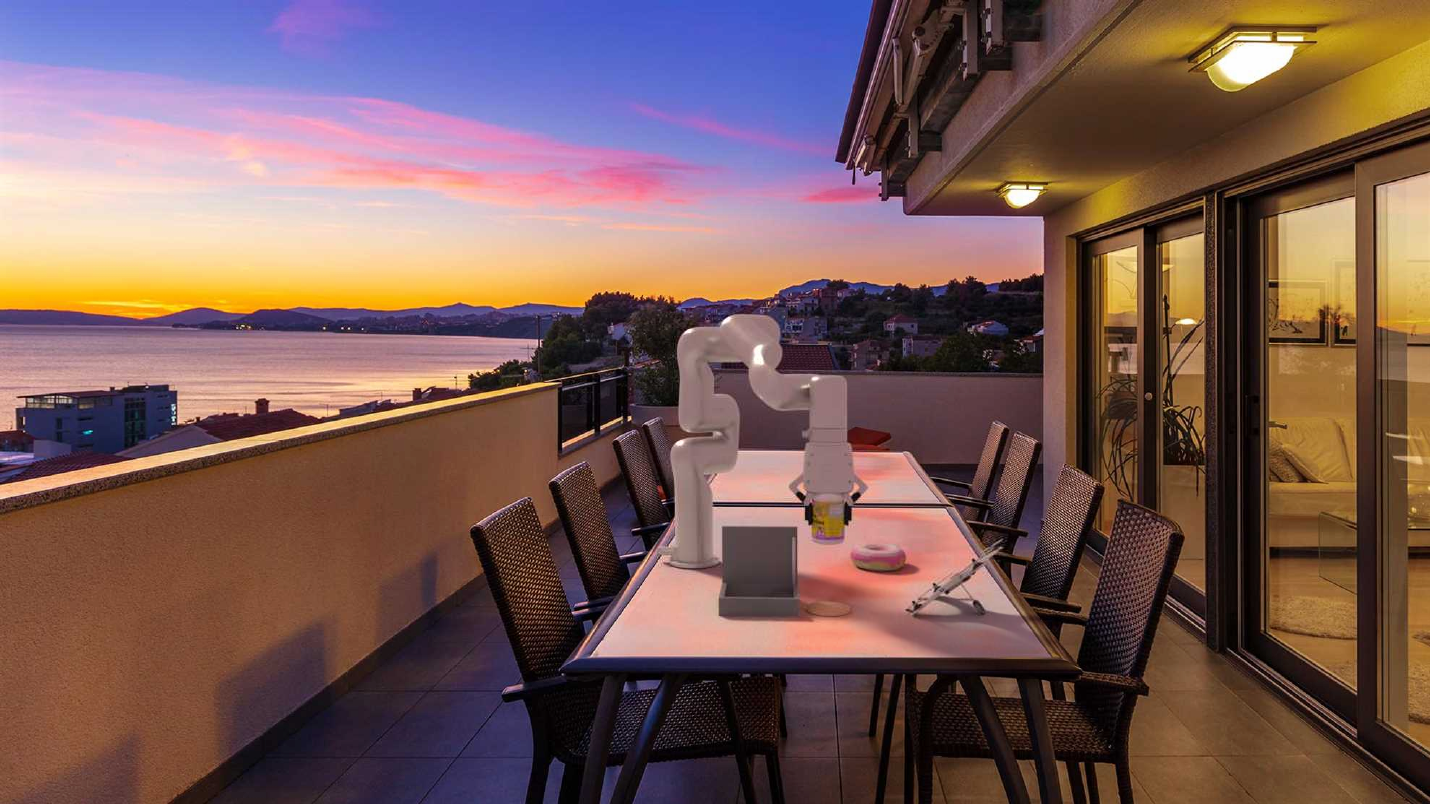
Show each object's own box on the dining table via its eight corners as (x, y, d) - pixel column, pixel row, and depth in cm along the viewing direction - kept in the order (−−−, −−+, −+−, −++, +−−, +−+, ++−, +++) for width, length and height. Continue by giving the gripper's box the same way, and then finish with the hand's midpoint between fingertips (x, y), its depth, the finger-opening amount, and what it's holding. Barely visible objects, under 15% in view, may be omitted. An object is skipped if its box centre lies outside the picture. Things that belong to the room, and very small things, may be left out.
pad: (806, 616, 165) (806, 614, 165) (804, 603, 174) (804, 601, 174) (852, 616, 165) (852, 614, 165) (848, 603, 174) (848, 601, 174)
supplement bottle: (805, 540, 171) (805, 477, 170) (834, 537, 173) (834, 476, 172) (821, 546, 164) (821, 482, 164) (850, 543, 167) (850, 480, 166)
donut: (849, 572, 200) (850, 551, 200) (850, 559, 213) (851, 540, 213) (907, 574, 198) (907, 553, 198) (904, 561, 211) (904, 541, 211)
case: (718, 615, 166) (718, 538, 165) (722, 597, 179) (722, 525, 178) (799, 616, 165) (799, 539, 164) (797, 598, 178) (797, 526, 177)
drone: (1039, 570, 171) (1007, 530, 174) (1019, 597, 152) (983, 552, 154) (954, 627, 180) (924, 588, 183) (925, 659, 161) (892, 615, 164)
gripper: (785, 438, 165) (785, 527, 165) (873, 438, 163) (873, 528, 164) (784, 434, 172) (784, 520, 173) (869, 434, 171) (869, 521, 172)
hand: (828, 523), depth 169 cm, fingers closed on supplement bottle, 6 cm apart
